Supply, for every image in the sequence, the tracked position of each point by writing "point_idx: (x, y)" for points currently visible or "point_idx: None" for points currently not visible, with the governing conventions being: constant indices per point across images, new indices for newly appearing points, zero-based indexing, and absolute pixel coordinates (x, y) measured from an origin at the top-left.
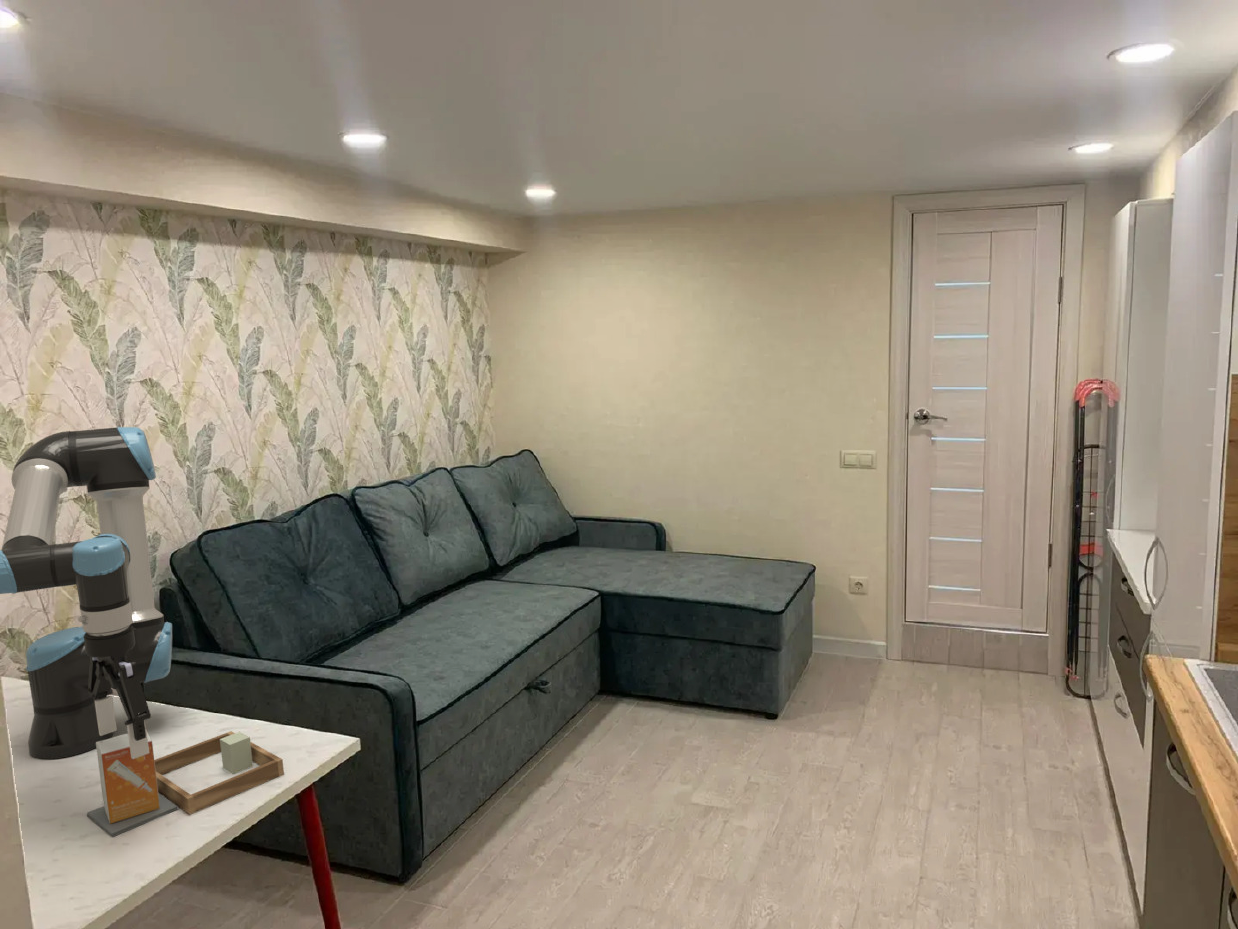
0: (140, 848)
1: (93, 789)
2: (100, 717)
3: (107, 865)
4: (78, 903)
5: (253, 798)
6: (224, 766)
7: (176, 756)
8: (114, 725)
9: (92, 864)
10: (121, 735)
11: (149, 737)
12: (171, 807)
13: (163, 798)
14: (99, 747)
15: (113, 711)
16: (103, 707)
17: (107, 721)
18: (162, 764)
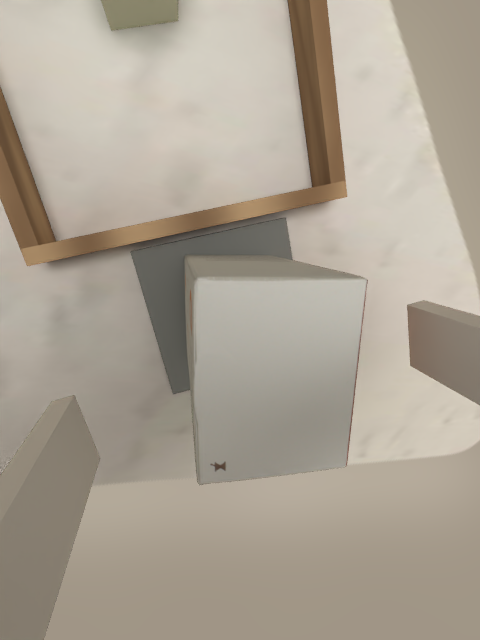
0: (385, 315)
1: (26, 370)
2: (70, 532)
3: (397, 370)
4: (468, 413)
5: (361, 34)
6: (122, 22)
7: (3, 143)
8: (68, 418)
9: (375, 391)
10: (203, 390)
11: (323, 281)
12: (280, 230)
13: (219, 236)
14: (277, 474)
15: (34, 473)
16: (37, 574)
17: (69, 471)
18: (28, 197)
